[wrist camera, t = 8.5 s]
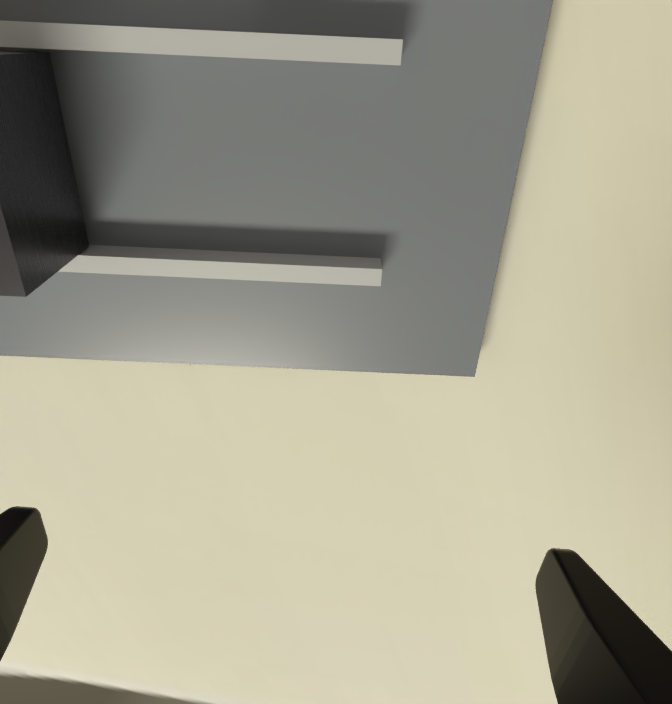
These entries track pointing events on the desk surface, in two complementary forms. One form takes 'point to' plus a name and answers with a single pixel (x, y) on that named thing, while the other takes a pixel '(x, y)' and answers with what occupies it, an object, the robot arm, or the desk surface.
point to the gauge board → (281, 178)
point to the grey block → (34, 177)
